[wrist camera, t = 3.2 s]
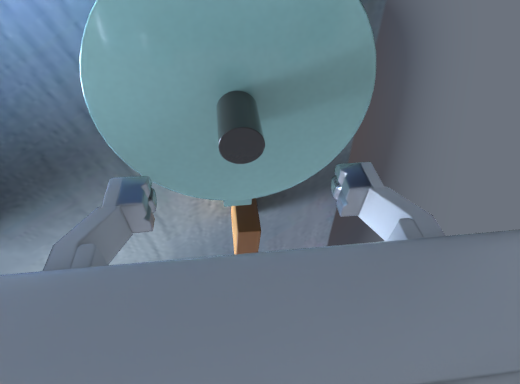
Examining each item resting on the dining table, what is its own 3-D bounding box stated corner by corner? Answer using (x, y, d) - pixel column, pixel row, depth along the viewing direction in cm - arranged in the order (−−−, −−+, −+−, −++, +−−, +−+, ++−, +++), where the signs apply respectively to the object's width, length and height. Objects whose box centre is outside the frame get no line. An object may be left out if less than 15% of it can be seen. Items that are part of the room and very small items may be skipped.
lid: (132, 196, 24) (121, 248, 21) (18, -86, 12) (-46, -63, 9) (335, 182, 26) (354, 228, 23) (415, -74, 14) (477, -52, 11)
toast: (249, 214, 44) (256, 269, 38) (230, 215, 43) (235, 270, 38) (252, 174, 38) (261, 231, 32) (232, 174, 37) (237, 232, 32)
